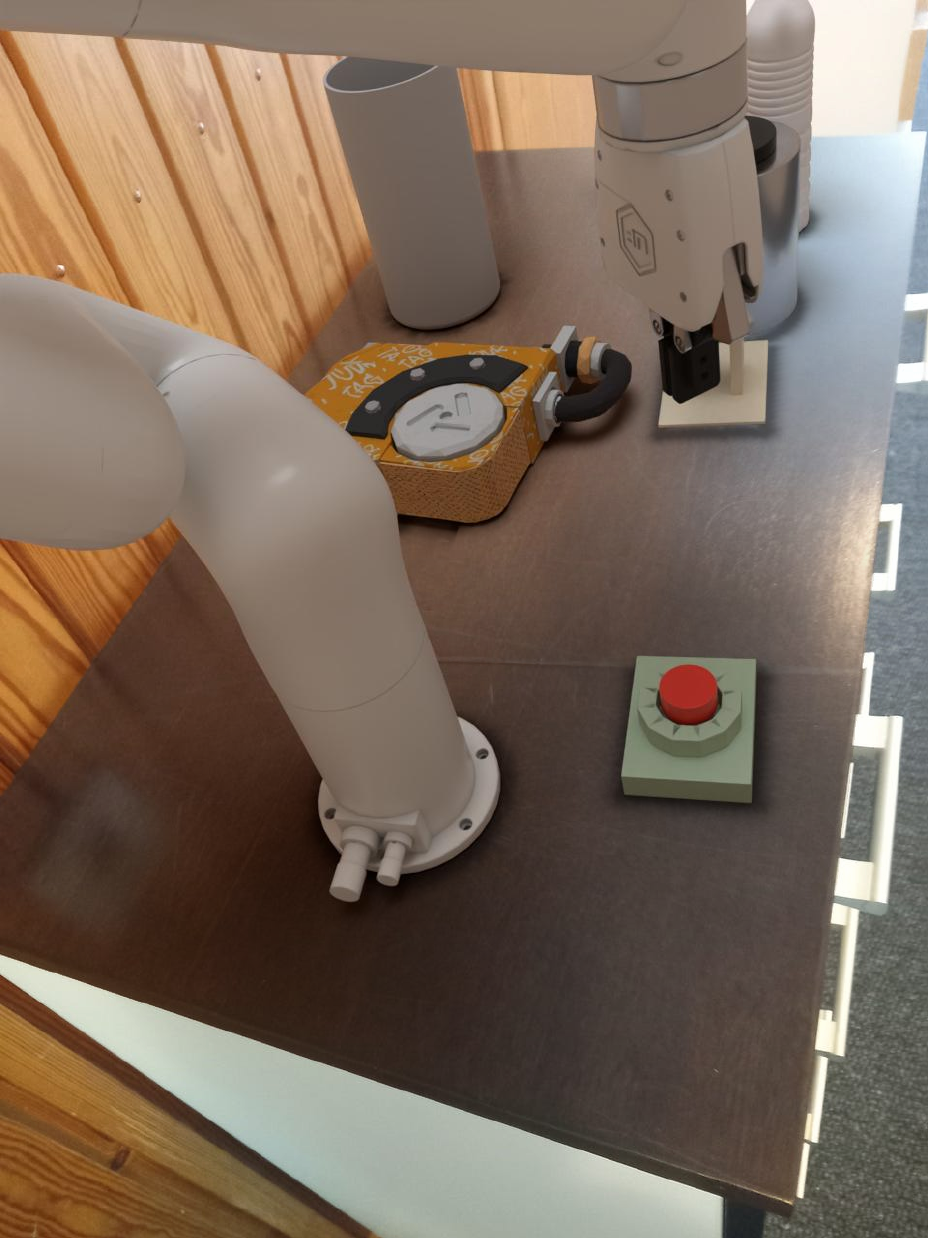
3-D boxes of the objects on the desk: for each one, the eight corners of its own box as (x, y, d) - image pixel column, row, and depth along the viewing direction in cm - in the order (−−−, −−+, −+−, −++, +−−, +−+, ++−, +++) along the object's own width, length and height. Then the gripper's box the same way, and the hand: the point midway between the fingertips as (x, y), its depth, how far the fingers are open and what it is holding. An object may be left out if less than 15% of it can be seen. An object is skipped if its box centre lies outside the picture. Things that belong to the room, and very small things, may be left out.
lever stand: (765, 432, 88) (765, 310, 80) (659, 435, 91) (648, 318, 82) (768, 350, 96) (768, 231, 87) (670, 356, 98) (661, 241, 90)
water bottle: (744, 214, 113) (740, -43, 95) (806, 205, 112) (814, -57, 94) (747, 254, 108) (744, -10, 90) (813, 246, 106) (823, -25, 88)
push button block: (751, 803, 65) (751, 767, 62) (624, 795, 67) (618, 760, 64) (756, 679, 71) (755, 641, 68) (639, 675, 73) (634, 638, 71)
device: (349, 297, 102) (640, 308, 90) (372, 367, 108) (648, 387, 96) (230, 441, 90) (550, 477, 77) (263, 511, 96) (566, 556, 83)
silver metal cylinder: (796, 342, 96) (801, 160, 83) (665, 350, 99) (651, 176, 87) (797, 263, 105) (801, 87, 92) (676, 272, 108) (665, 104, 96)
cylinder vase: (472, 336, 108) (414, 90, 90) (371, 328, 113) (298, 94, 96) (519, 272, 115) (474, 31, 97) (422, 268, 120) (362, 39, 102)
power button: (716, 726, 65) (715, 709, 64) (658, 724, 66) (656, 707, 65) (719, 681, 67) (718, 664, 66) (663, 679, 68) (661, 663, 67)
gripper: (534, 80, 56) (580, 363, 69) (692, 162, 46) (711, 475, 59) (651, 29, 57) (675, 317, 70) (831, 98, 47) (819, 419, 60)
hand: (691, 388), depth 65 cm, fingers closed
